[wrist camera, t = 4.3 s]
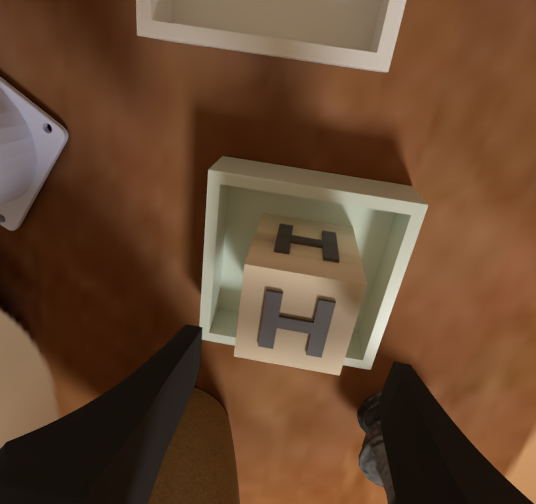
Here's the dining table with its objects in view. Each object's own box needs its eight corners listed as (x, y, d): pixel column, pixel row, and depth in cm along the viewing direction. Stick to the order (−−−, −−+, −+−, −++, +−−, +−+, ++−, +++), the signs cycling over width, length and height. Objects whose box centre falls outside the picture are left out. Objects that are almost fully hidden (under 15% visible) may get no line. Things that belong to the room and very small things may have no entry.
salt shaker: (358, 383, 26) (389, 605, 15) (445, 391, 25) (540, 627, 15) (349, 439, 28) (370, 661, 18) (428, 447, 28) (498, 681, 17)
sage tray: (211, 309, 24) (198, 339, 22) (222, 155, 20) (208, 169, 17) (364, 336, 24) (370, 370, 21) (412, 186, 19) (428, 205, 17)
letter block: (333, 302, 22) (339, 378, 17) (252, 288, 23) (233, 358, 17) (353, 224, 20) (368, 283, 14) (263, 210, 20) (244, 262, 15)
